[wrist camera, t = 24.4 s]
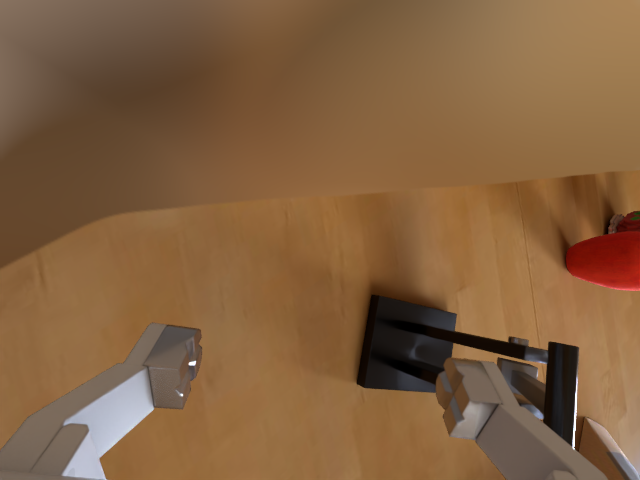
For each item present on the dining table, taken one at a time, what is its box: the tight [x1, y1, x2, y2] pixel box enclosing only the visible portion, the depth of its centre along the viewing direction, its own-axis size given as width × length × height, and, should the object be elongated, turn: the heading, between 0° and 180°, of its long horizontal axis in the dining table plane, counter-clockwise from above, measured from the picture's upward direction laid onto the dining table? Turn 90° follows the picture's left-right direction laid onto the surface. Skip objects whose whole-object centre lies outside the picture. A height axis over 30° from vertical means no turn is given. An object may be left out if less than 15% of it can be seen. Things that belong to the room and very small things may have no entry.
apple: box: [566, 231, 640, 291], centre depth 52 cm, size 9×9×11 cm
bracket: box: [357, 295, 548, 419], centre depth 31 cm, size 12×9×14 cm
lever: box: [497, 342, 579, 448], centre depth 21 cm, size 14×6×2 cm
